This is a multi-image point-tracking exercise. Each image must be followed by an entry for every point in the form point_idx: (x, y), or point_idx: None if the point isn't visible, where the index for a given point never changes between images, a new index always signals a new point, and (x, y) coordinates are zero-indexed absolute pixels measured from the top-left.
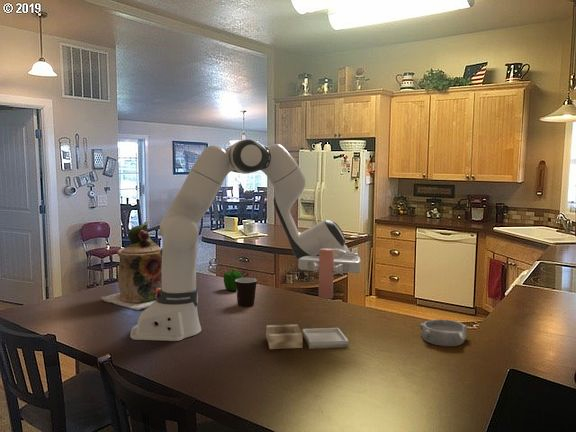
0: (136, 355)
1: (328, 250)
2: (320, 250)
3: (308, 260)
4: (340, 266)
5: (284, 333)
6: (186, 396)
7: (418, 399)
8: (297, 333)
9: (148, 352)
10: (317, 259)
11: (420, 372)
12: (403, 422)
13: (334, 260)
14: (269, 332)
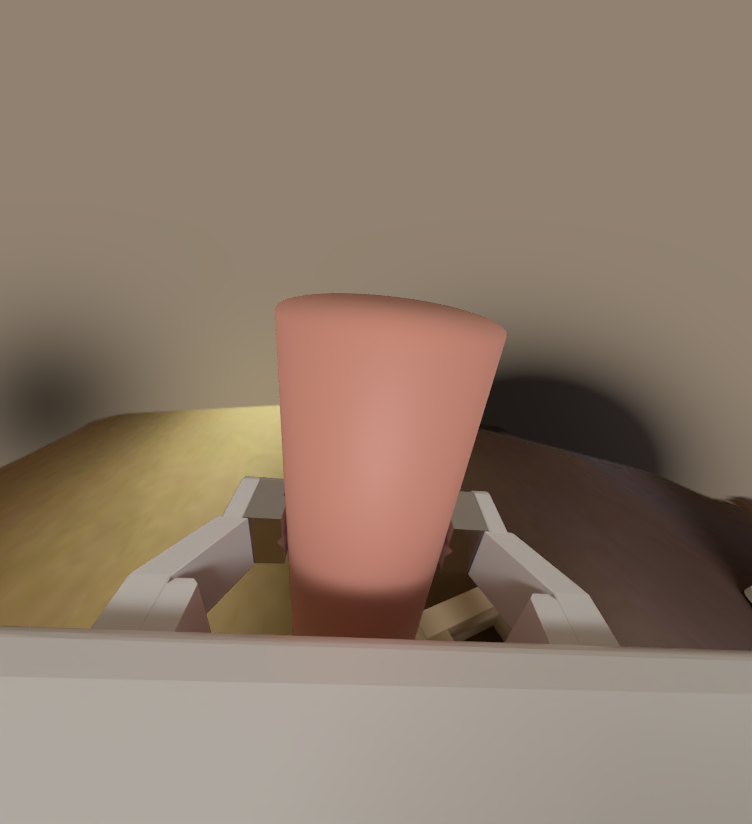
0: (687, 505)
1: (353, 298)
2: (451, 311)
3: (733, 652)
4: (186, 548)
5: (480, 612)
6: (484, 427)
7: (165, 450)
8: (437, 624)
9: (691, 520)
10: (625, 694)
11: (72, 540)
12: (220, 413)
13: (241, 685)
14: None
